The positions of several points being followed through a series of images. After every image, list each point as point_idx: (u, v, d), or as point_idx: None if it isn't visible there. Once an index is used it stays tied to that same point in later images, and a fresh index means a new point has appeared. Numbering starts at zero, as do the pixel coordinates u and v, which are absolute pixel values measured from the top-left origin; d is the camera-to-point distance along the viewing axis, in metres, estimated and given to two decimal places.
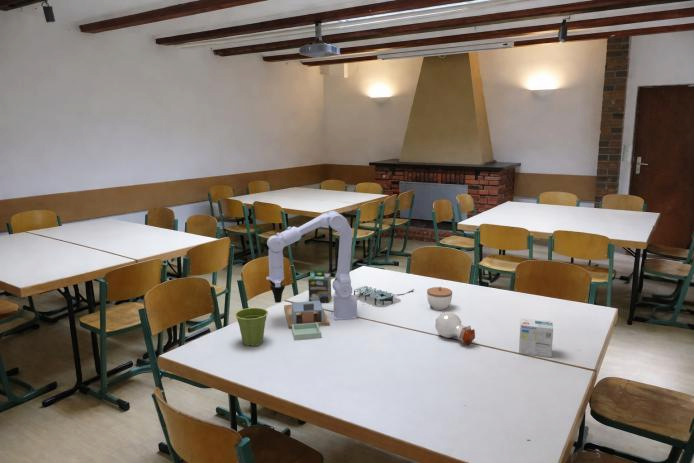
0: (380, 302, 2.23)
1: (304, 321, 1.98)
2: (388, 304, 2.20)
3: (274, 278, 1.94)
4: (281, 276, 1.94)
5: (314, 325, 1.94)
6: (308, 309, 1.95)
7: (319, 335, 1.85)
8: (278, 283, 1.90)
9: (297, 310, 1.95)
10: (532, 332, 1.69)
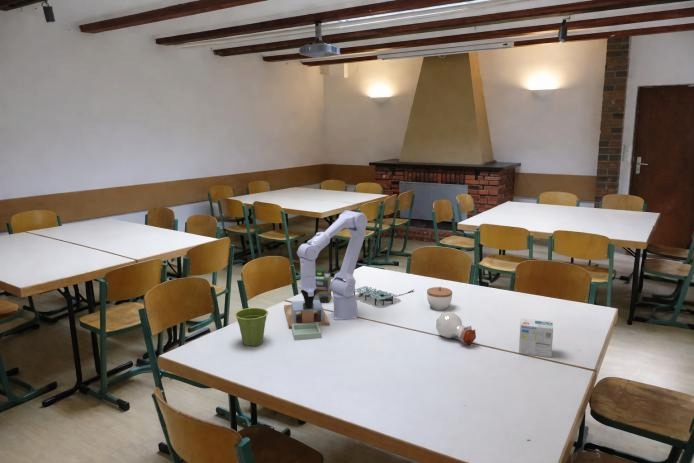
0: (380, 302, 2.23)
1: (304, 321, 1.98)
2: (388, 304, 2.20)
3: (306, 287, 1.90)
4: (313, 285, 1.91)
5: (314, 325, 1.94)
6: None
7: (319, 335, 1.85)
8: (311, 292, 1.86)
9: (297, 309, 1.96)
10: (532, 332, 1.69)
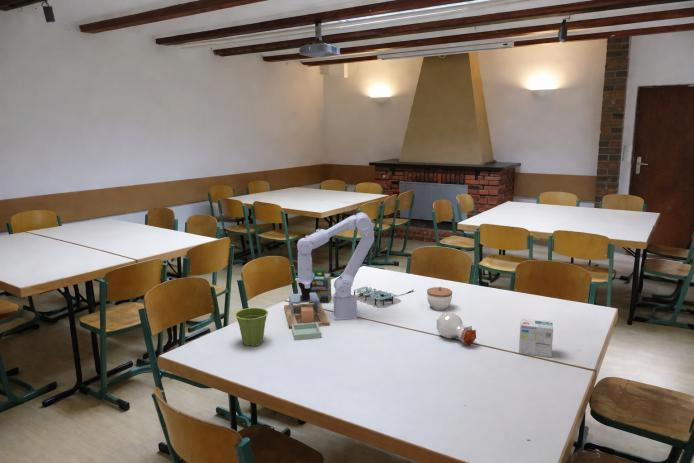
0: (380, 302, 2.23)
1: (304, 321, 1.98)
2: (388, 304, 2.20)
3: (303, 279, 1.99)
4: (310, 277, 2.00)
5: (314, 325, 1.94)
6: None
7: (319, 335, 1.85)
8: (308, 284, 1.95)
9: (294, 301, 2.05)
10: (532, 332, 1.69)
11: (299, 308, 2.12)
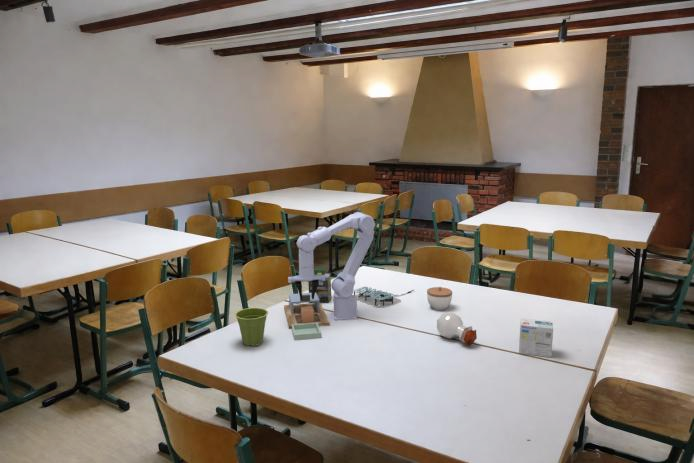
0: (380, 303, 2.22)
1: (304, 321, 1.98)
2: (388, 305, 2.20)
3: None
4: (301, 276, 1.95)
5: (314, 325, 1.94)
6: (305, 300, 2.05)
7: (319, 335, 1.85)
8: (288, 278, 1.95)
9: (294, 301, 2.05)
10: (532, 332, 1.69)
11: (299, 308, 2.12)
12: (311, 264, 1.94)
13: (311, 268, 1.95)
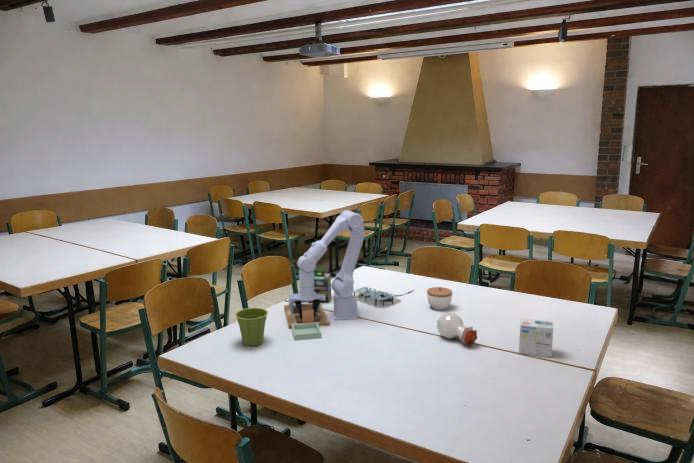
0: (380, 303, 2.22)
1: (304, 321, 1.98)
2: (388, 305, 2.20)
3: None
4: (302, 296, 1.96)
5: (314, 325, 1.94)
6: None
7: (319, 335, 1.85)
8: None
9: None
10: (532, 332, 1.69)
11: None
12: (311, 284, 1.96)
13: (311, 288, 1.96)
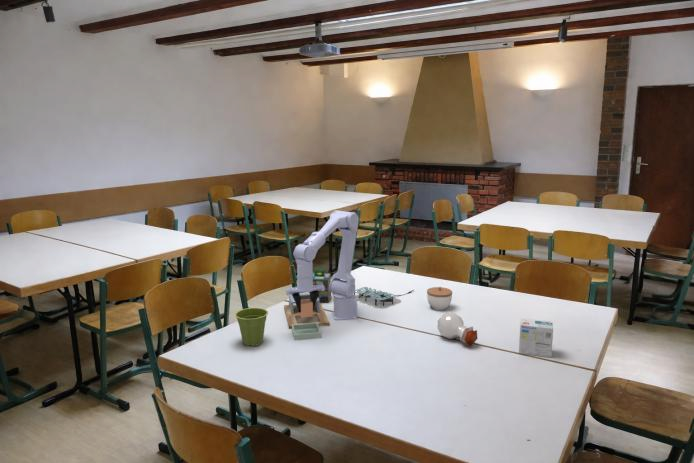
0: (380, 303, 2.22)
1: (303, 314, 1.86)
2: (389, 305, 2.19)
3: (297, 286, 1.86)
4: (300, 287, 1.84)
5: (314, 325, 1.94)
6: None
7: (319, 335, 1.85)
8: (286, 291, 1.84)
9: (294, 301, 2.05)
10: (532, 332, 1.69)
11: None
12: (312, 273, 1.85)
13: (311, 278, 1.84)
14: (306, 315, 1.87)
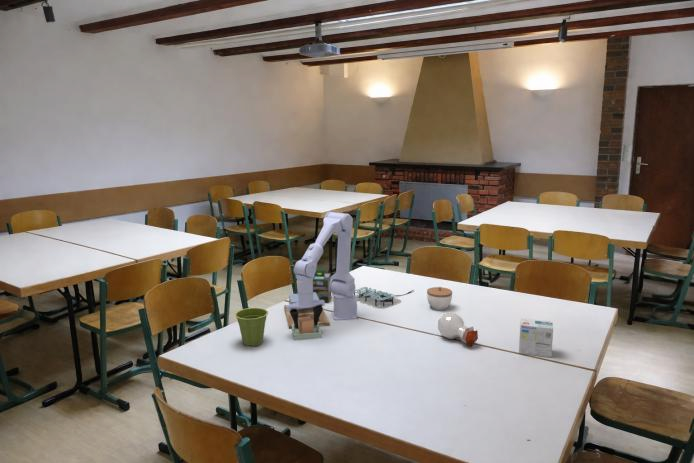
0: (380, 303, 2.22)
1: (304, 332, 1.86)
2: (389, 305, 2.19)
3: (297, 302, 1.86)
4: (301, 303, 1.84)
5: (314, 325, 1.94)
6: None
7: (319, 335, 1.85)
8: (287, 307, 1.84)
9: (294, 301, 2.05)
10: (532, 332, 1.69)
11: None
12: (312, 289, 1.85)
13: (311, 294, 1.84)
14: None
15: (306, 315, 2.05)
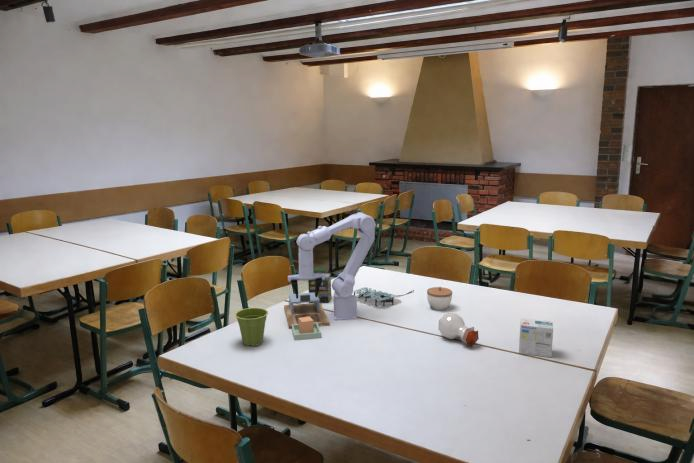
0: (381, 303, 2.21)
1: (304, 332, 1.86)
2: (389, 305, 2.19)
3: None
4: (301, 274, 1.96)
5: (314, 325, 1.94)
6: (305, 300, 2.05)
7: (319, 335, 1.85)
8: (288, 277, 1.96)
9: (294, 301, 2.05)
10: (532, 332, 1.69)
11: (299, 308, 2.12)
12: (310, 263, 1.95)
13: (311, 267, 1.95)
14: None
15: (306, 315, 2.05)
